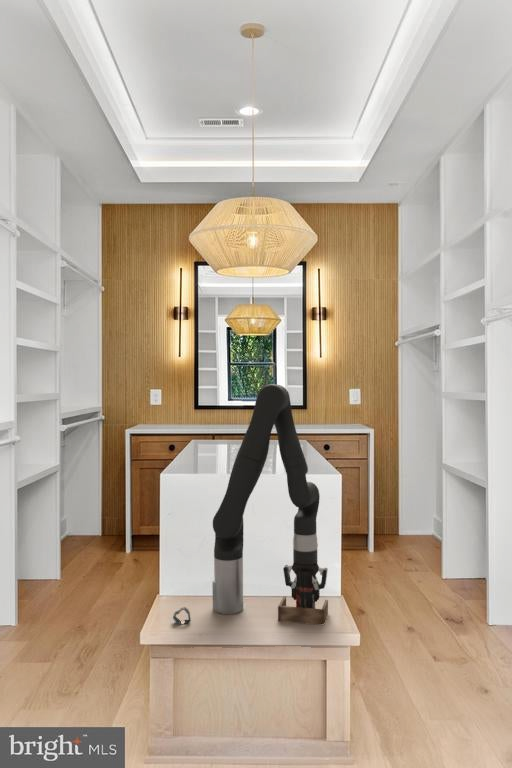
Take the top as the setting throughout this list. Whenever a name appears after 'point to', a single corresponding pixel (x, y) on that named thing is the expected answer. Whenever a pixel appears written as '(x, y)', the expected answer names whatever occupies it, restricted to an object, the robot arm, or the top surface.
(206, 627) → the top surface
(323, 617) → the wooden u-shaped frame
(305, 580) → the deodorant
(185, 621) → the wristwatch
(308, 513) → the robot arm
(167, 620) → the top surface
